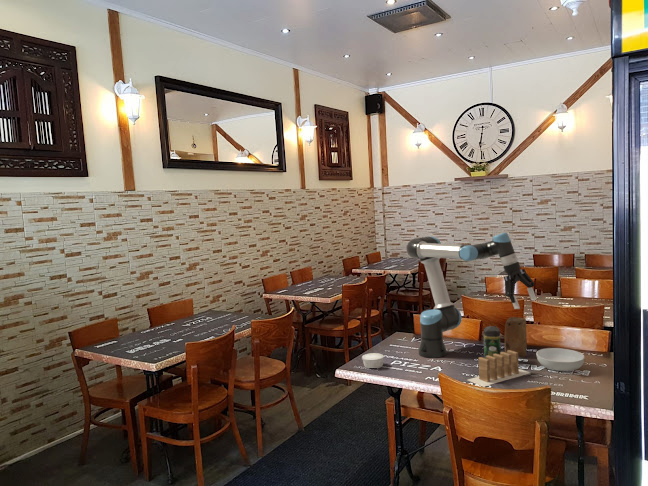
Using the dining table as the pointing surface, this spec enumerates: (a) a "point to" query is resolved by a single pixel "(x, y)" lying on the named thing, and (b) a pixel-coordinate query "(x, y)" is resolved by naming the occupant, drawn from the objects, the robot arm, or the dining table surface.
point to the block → (516, 336)
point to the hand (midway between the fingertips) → (525, 304)
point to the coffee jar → (491, 341)
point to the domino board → (483, 383)
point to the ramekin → (373, 360)
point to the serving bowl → (560, 359)
